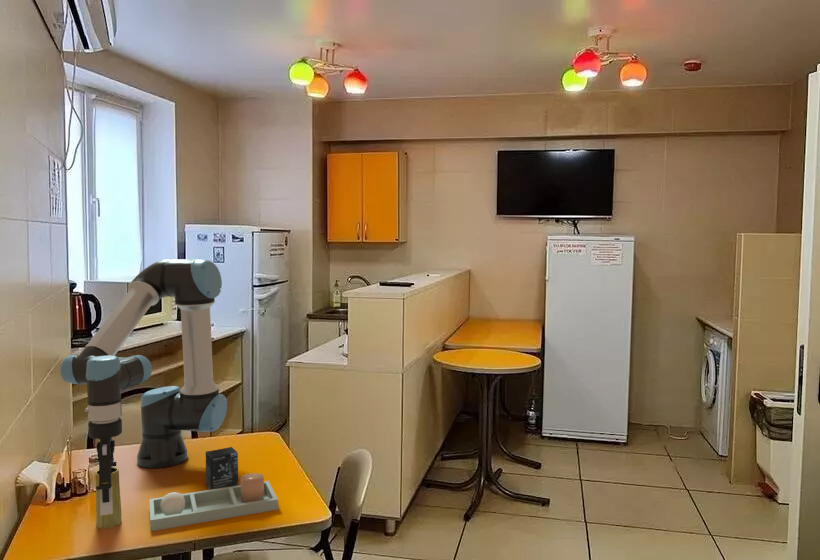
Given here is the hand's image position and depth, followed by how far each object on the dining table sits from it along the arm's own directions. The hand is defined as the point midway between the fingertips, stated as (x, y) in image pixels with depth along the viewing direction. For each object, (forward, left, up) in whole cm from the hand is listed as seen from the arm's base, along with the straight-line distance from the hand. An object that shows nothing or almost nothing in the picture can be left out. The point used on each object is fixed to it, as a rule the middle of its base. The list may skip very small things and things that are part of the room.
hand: (107, 503), depth 160 cm
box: (-14, +29, -6) cm, 33 cm away
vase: (0, 0, -6) cm, 6 cm away
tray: (+2, +25, -6) cm, 26 cm away
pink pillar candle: (+2, +35, -5) cm, 36 cm away
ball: (+2, +15, -5) cm, 16 cm away
